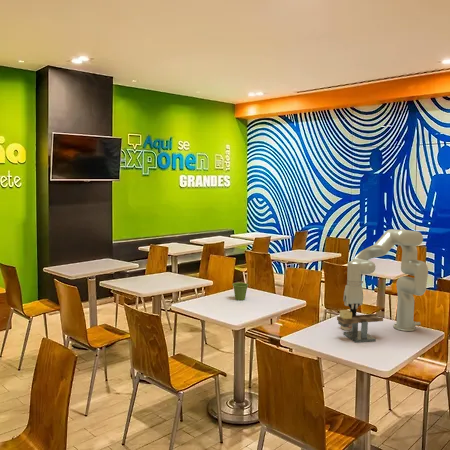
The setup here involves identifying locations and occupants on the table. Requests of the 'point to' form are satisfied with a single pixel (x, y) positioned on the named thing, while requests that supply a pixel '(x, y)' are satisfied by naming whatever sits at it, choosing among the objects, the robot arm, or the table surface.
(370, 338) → the pivot stand
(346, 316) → the block
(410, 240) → the robot arm
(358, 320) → the balance beam
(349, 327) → the teacup with lid
